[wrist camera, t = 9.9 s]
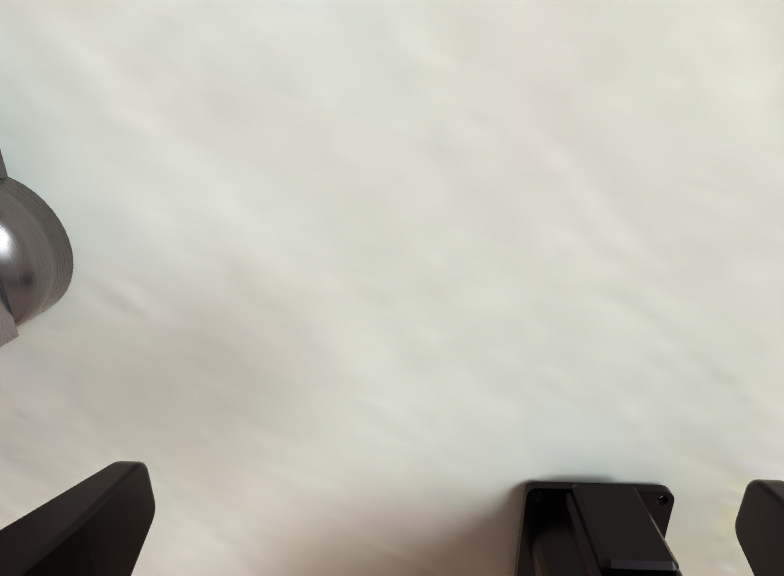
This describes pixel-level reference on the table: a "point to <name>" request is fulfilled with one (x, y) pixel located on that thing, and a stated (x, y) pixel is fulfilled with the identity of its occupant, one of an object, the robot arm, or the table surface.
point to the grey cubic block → (6, 318)
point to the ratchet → (31, 250)
